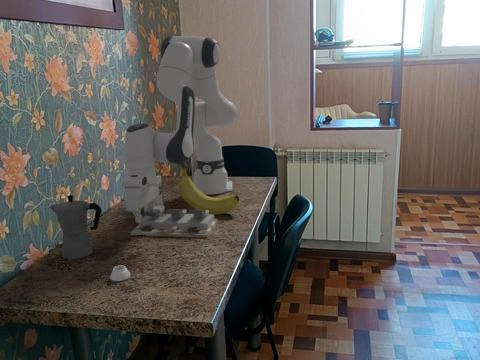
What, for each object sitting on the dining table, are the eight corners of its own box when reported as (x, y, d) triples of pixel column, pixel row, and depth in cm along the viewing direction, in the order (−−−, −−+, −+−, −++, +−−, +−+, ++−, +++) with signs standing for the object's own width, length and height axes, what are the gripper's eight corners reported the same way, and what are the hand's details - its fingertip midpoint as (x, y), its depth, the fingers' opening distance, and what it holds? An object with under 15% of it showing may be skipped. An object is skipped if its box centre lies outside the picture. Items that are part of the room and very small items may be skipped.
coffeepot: (48, 259, 126) (39, 200, 122) (64, 246, 135) (56, 191, 131) (100, 259, 125) (92, 199, 120) (112, 246, 134) (105, 190, 129)
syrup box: (159, 216, 160) (155, 178, 157) (144, 216, 161) (140, 178, 158) (164, 211, 166) (161, 174, 162) (150, 211, 167) (146, 174, 163)
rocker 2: (174, 216, 153) (174, 209, 153) (186, 216, 152) (186, 209, 152) (165, 217, 144) (165, 209, 144) (178, 217, 143) (178, 209, 143)
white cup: (131, 273, 116) (112, 274, 115) (130, 262, 115) (111, 264, 115) (128, 281, 111) (108, 283, 111) (127, 271, 110) (107, 272, 110)
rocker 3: (196, 217, 151) (196, 209, 152) (208, 217, 151) (208, 210, 151) (188, 217, 143) (189, 209, 143) (201, 217, 142) (201, 210, 142)
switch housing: (149, 218, 155) (148, 213, 155) (214, 219, 151) (213, 214, 151) (139, 227, 147) (138, 221, 146) (207, 229, 143) (207, 223, 142)
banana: (241, 211, 162) (239, 159, 157) (238, 217, 156) (235, 162, 152) (184, 210, 167) (180, 159, 162) (178, 214, 161) (174, 162, 157)
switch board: (147, 220, 157) (147, 214, 156) (217, 221, 152) (217, 216, 152) (130, 235, 142) (129, 229, 142) (207, 237, 138) (207, 231, 137)
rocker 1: (153, 212, 154) (152, 206, 154) (164, 213, 154) (164, 206, 153) (143, 219, 146) (142, 212, 145) (155, 219, 145) (155, 212, 145)
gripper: (144, 169, 149) (147, 208, 152) (118, 182, 129) (122, 226, 132) (162, 169, 148) (165, 208, 151) (138, 182, 128) (142, 227, 131)
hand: (145, 217), depth 141 cm, fingers open, 8 cm apart
